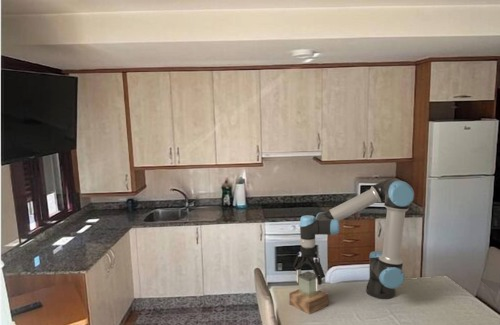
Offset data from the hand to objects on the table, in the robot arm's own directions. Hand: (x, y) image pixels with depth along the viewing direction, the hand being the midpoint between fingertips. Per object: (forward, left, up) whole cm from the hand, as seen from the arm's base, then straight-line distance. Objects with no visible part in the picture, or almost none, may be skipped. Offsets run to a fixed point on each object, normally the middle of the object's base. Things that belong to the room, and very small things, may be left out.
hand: (308, 285), depth 193 cm
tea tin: (0, 0, -4) cm, 4 cm away
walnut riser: (0, 0, -10) cm, 10 cm away
